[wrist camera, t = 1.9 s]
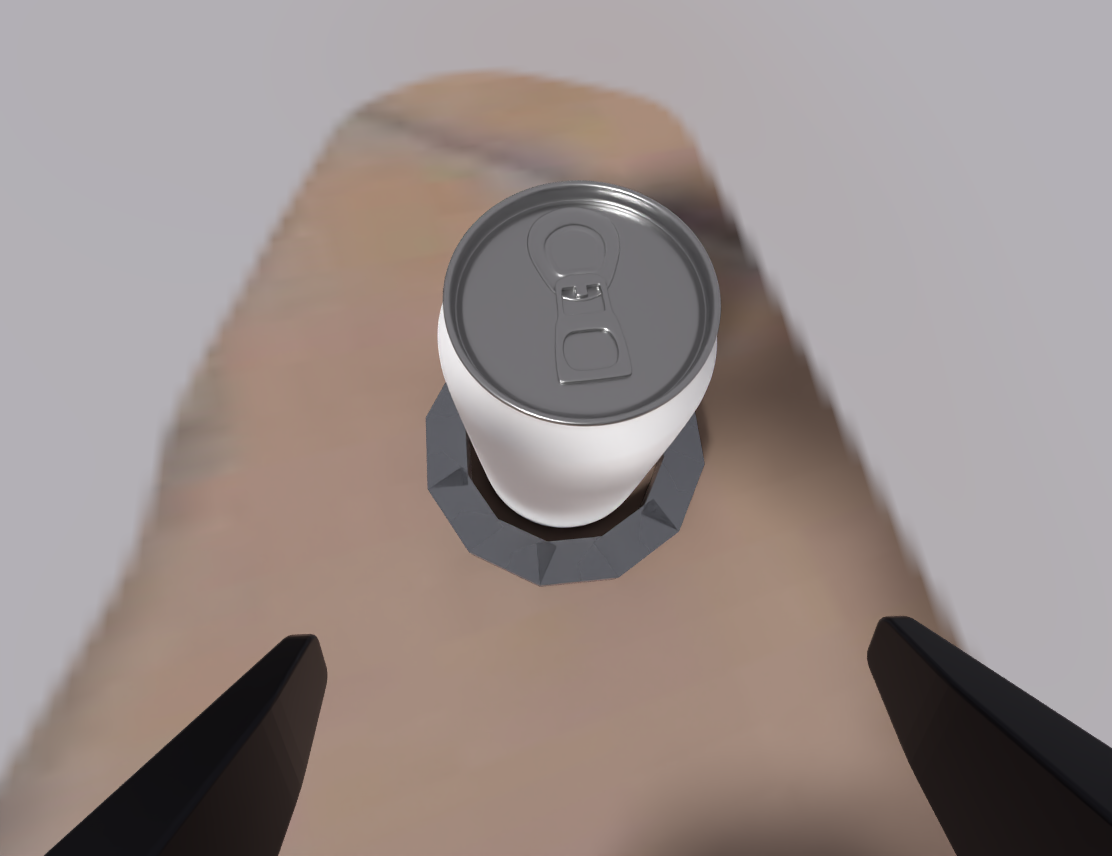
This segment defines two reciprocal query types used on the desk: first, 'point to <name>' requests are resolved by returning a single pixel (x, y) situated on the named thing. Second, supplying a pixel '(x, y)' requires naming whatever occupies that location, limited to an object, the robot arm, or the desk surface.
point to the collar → (561, 557)
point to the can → (576, 344)
